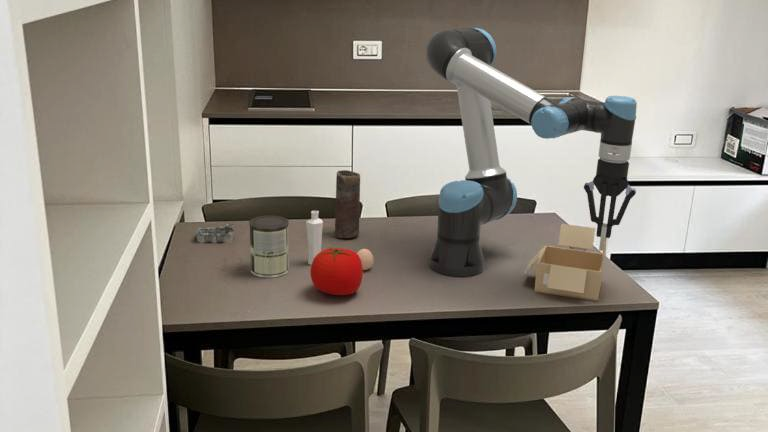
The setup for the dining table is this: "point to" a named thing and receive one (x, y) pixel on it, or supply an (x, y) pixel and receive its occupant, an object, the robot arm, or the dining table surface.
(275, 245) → the coffee can
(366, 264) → the egg
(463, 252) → the robot arm
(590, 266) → the carton
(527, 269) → the left flap
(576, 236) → the back flap
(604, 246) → the right flap
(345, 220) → the candle
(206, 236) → the egg carton
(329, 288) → the tomato
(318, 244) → the perfume bottle
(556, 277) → the front flap
